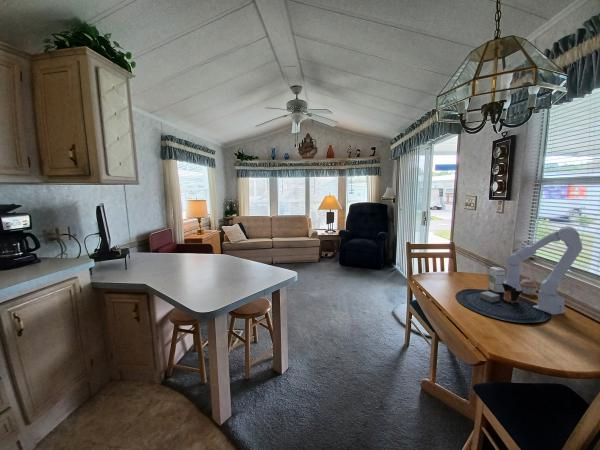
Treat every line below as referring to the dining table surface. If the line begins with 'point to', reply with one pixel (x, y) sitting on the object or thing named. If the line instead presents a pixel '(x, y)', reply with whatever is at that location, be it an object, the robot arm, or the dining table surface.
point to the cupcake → (528, 286)
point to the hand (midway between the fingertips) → (510, 298)
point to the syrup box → (496, 279)
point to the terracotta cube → (508, 297)
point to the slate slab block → (489, 296)
